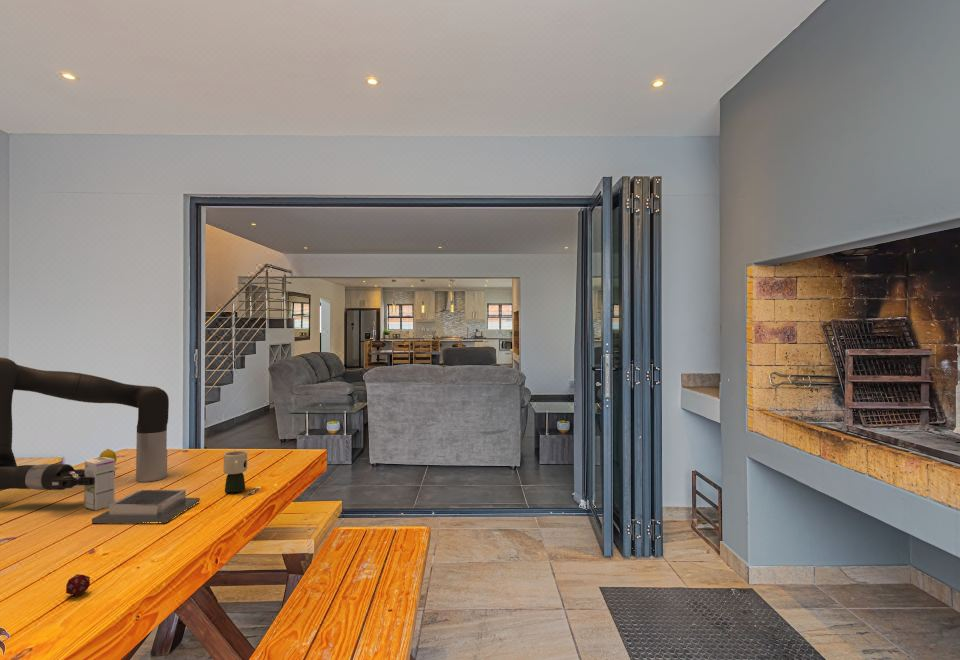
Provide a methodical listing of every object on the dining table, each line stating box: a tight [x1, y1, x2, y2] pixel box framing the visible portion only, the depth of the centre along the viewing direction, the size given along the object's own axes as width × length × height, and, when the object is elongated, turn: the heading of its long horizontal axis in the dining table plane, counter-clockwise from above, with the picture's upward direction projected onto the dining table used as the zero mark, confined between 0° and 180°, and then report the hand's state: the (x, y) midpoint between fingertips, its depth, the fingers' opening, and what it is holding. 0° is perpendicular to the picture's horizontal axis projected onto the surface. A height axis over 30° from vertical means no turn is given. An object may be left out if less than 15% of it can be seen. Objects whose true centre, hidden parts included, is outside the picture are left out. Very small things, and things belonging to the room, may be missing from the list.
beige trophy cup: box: [223, 450, 248, 493], centre depth 169 cm, size 11×7×13 cm, turn 30°
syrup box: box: [83, 456, 116, 511], centre depth 153 cm, size 6×6×14 cm
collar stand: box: [91, 489, 201, 524], centre depth 149 cm, size 18×20×4 cm
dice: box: [65, 573, 91, 597], centre depth 102 cm, size 4×4×4 cm
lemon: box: [98, 448, 117, 464], centre depth 194 cm, size 6×6×8 cm
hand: (104, 477), depth 153 cm, fingers open, 8 cm apart
